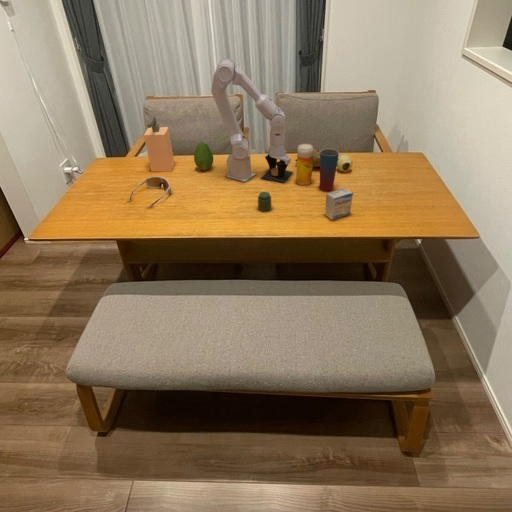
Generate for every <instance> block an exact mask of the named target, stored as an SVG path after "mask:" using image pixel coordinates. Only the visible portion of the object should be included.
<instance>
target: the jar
mask: <svg viewBox="0 0 512 512" xmlns="http://www.w3.org/2000/svg"><path fill="white" fill-rule="evenodd" d="M257 210H258V211H260V212H264V213H266V212H269V211H271V210H272V195H271V193H270V192H268V191H261V192H259V194H258V196H257Z"/></svg>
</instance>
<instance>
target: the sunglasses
mask: <svg viewBox="0 0 512 512" xmlns="http://www.w3.org/2000/svg"><path fill="white" fill-rule="evenodd" d="M144 184H145V186H146V187H147V188H150V189H160V188H161V187H163V189H165V192H164V193H163V194H162V195H161V196H160V197H158V198H157V199H156V200H154V201H153V202H152V203H151V204H149V206H148V208H151V207H153V206H154V205H155V204H157V203H158V202H159V201H161V200H162V199H163V198H164V197H165V196H166V194H168V193H169V194H170V195H171V194H172V188H171V187H172V186H171V183H170V182H169V180H168V179H167V178H165V177H163V176H159V175H153V176H150V177H145V179H144V180H142V181H141V182H140V183H138V184H137V185H136V186H135V187H134V188H133V189H132V191H130V194H129V198H128V202H131V198H132V195H133V194H134V192H135V191H136V190H137V189H138V188H139V187H140V186H142V185H144Z"/></svg>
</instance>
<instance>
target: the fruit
mask: <svg viewBox="0 0 512 512" xmlns="http://www.w3.org/2000/svg"><path fill="white" fill-rule="evenodd" d="M193 154H194V156H193V161H194V164H195V166H196V167H197V168H198V169H199V170H201V171H207V170H209V169H210V168H211V167H212V166H213V164H214V154H213V152H212V150H211V148H210V147H209V145H208V144H207V143H206V142H199V143H197V146H196V148H195V151H194V153H193Z"/></svg>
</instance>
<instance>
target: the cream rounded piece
mask: <svg viewBox="0 0 512 512" xmlns="http://www.w3.org/2000/svg"><path fill="white" fill-rule="evenodd" d="M353 163H354V162H353V159H352V158H351V156H349V155H347V154H343V155H339V156H338V161H337V167H336V169H338V170H339V171H340V172H348V171H349V170H351V168H352V167H353Z"/></svg>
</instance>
